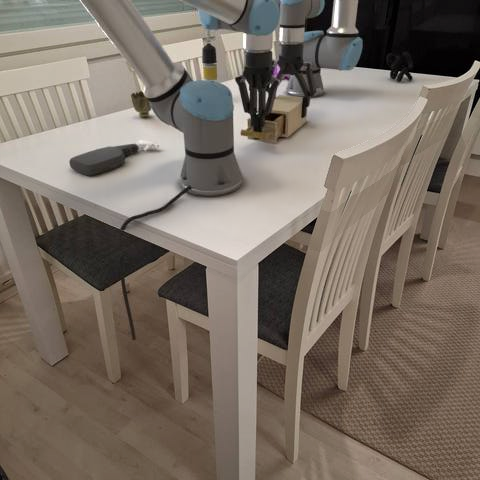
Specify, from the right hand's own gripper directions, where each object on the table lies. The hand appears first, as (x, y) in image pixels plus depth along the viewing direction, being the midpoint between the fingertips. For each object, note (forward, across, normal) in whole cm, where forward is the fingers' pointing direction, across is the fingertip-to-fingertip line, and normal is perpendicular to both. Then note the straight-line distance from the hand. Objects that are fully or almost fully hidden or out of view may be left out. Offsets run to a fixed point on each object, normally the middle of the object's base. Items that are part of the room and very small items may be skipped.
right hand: (288, 114), depth 148 cm
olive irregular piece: (+3, +50, +12) cm, 52 cm away
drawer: (+2, 0, +17) cm, 17 cm away
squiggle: (+2, -24, -79) cm, 82 cm away
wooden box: (+3, 0, +4) cm, 5 cm away
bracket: (+2, +27, -66) cm, 71 cm away
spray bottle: (+4, +32, +49) cm, 59 cm away
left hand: (0, 0, +25) cm, 25 cm away
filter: (+3, +40, -19) cm, 44 cm away
